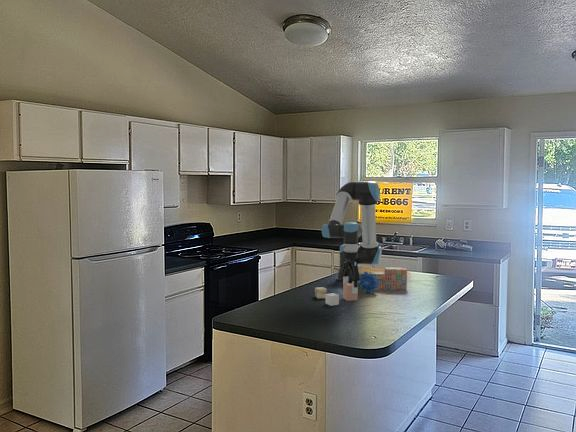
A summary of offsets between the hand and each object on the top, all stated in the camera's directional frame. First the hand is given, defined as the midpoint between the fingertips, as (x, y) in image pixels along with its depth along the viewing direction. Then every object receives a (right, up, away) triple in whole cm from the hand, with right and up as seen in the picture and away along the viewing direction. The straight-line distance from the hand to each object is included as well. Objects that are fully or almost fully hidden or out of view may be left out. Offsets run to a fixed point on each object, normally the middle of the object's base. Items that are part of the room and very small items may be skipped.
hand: (350, 290), depth 270 cm
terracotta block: (0, -5, +1) cm, 5 cm away
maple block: (-15, -4, +5) cm, 17 cm away
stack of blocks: (+26, -3, +28) cm, 38 cm away
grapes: (+12, -4, +16) cm, 20 cm away
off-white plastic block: (-11, -5, -10) cm, 16 cm away
